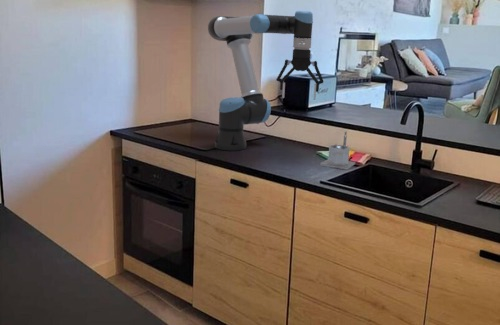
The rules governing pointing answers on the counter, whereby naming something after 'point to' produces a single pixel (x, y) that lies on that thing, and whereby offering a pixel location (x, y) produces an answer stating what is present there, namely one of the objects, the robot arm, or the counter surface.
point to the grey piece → (338, 155)
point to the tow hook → (345, 139)
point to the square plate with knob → (337, 165)
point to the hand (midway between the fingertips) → (298, 98)
